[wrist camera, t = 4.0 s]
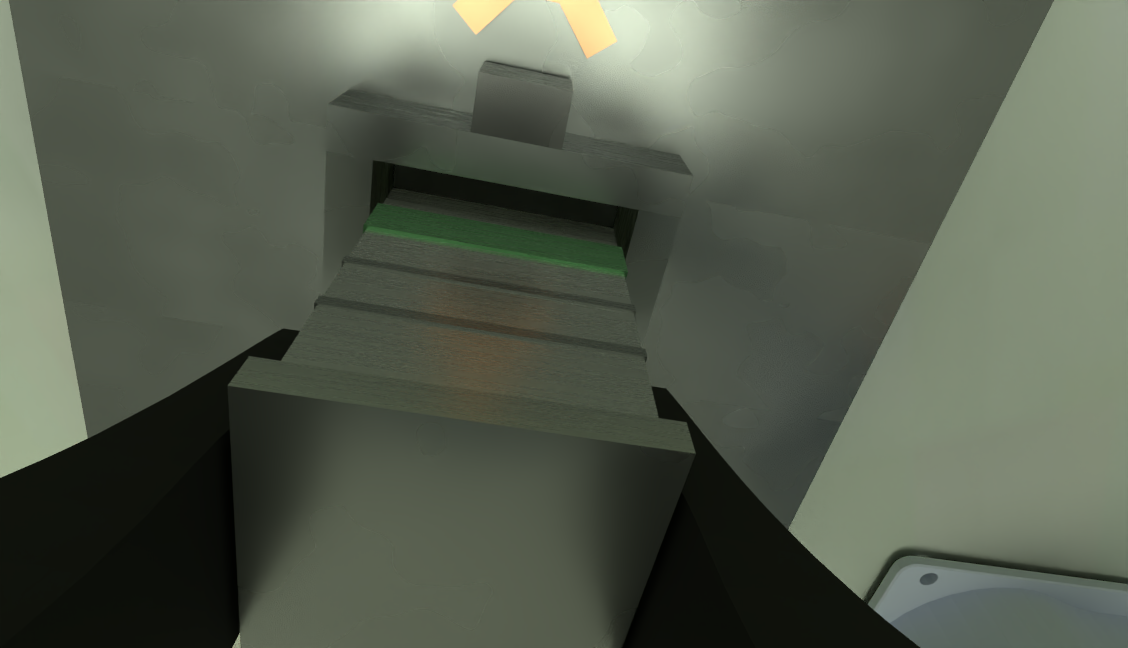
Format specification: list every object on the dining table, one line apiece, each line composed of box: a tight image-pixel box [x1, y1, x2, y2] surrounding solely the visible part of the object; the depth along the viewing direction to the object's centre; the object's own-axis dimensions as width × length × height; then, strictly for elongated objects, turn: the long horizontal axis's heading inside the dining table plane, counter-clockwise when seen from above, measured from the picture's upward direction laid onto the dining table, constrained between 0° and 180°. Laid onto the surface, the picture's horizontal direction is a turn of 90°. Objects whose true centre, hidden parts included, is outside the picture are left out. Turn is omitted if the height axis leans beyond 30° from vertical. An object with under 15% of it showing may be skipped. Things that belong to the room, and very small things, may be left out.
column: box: [228, 188, 696, 648], centre depth 10 cm, size 4×4×6 cm
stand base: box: [9, 0, 1054, 530], centre depth 14 cm, size 18×18×2 cm
